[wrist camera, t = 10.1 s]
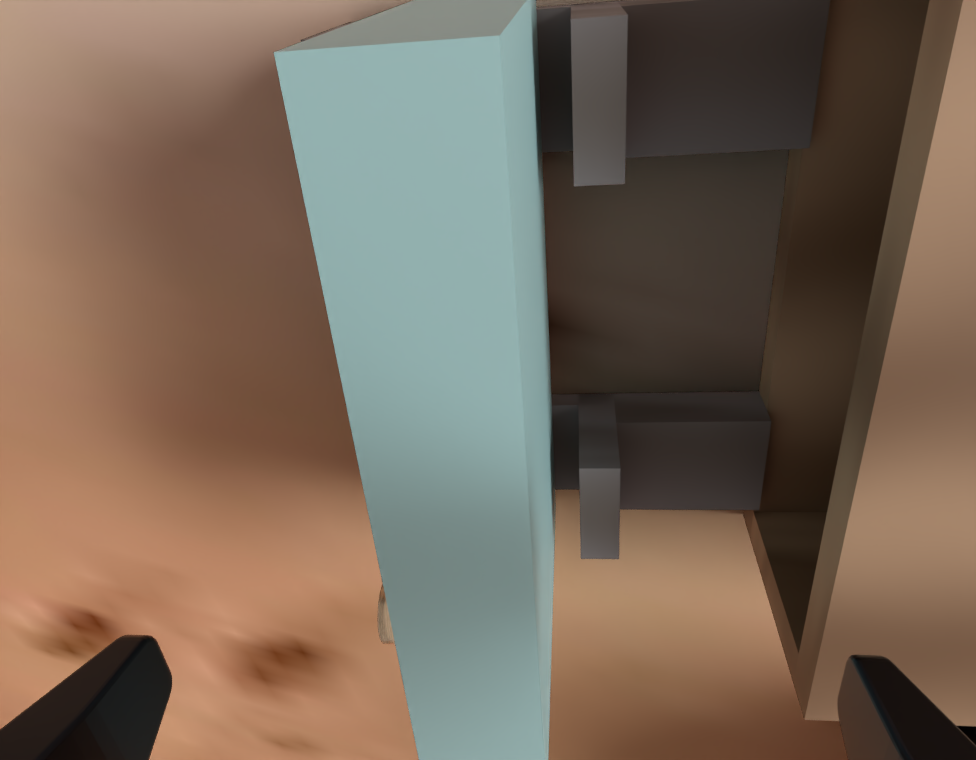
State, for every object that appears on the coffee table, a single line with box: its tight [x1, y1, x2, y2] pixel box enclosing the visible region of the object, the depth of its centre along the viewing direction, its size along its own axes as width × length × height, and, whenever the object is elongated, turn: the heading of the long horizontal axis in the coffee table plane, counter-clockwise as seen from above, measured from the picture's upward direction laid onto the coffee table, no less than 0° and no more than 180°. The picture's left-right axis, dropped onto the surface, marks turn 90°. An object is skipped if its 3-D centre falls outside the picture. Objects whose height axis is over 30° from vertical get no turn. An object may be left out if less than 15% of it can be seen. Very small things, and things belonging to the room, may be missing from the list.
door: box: [274, 0, 556, 760], centre depth 15 cm, size 14×4×9 cm, turn 4°
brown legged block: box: [301, 0, 976, 726], centre depth 16 cm, size 16×18×7 cm
